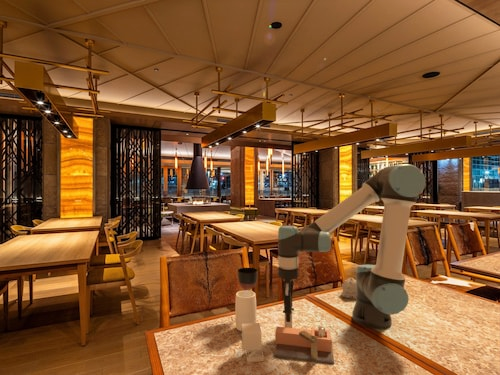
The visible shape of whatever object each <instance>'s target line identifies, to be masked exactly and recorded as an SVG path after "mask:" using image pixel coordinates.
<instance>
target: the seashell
mask: <svg viewBox="0 0 500 375" xmlns="http://www.w3.org/2000/svg"><path fill="white" fill-rule="evenodd" d="M341 288H342V292H341V293H340V295H341V296H342V298H346V299H350V300H357V291H356V278H355V279H354V278H353V277H349V278H348V279H347V278H346V279H345V280H344V281H343V283H341Z"/></svg>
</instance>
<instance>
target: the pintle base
mask: <svg viewBox="0 0 500 375" xmlns="http://www.w3.org/2000/svg"><path fill="white" fill-rule="evenodd" d="M317 329H318V337H324V338H325V330H326V328H325V327H324V326H318V328H317ZM299 336H301V337H303V338H304V339H306V340H308V341H310V342H311V347H302V346H294V345H285V344H277V343H275V344H276V345H275V350H274V353H273V357H274V358H276V359H277V358H278V359H287V360H297V361H304V362H310V363H311V362H312V363H320V364H321V363H322V364H328V363H329V365H334V364H335V359H334V357H335V356H334V351H333V344H332V343H333V340H332V339H331V352H326V351H318V350H317V342H318V338H317V336H313V335H311V334H309V333H307V332H306V331H304V330H303V331H301V332H299Z"/></svg>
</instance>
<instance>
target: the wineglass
mask: <svg viewBox="0 0 500 375" xmlns="http://www.w3.org/2000/svg"><path fill="white" fill-rule="evenodd" d="M237 278H238V283H239V286H240V288H242V289H244V290H248V291H251V290H252V289H253V288H255V287H256V285H257V280H258V269H257V268H254V267H241V268H239V269H238V270H237Z"/></svg>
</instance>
